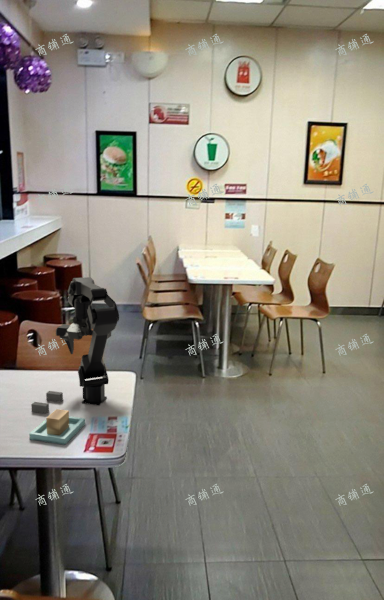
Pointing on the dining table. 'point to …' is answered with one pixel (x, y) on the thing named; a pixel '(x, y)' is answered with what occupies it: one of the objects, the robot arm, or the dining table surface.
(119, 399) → the dining table surface
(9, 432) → the dining table surface
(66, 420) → the wooden block
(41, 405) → the pair of grey blocks
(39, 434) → the teal tray
